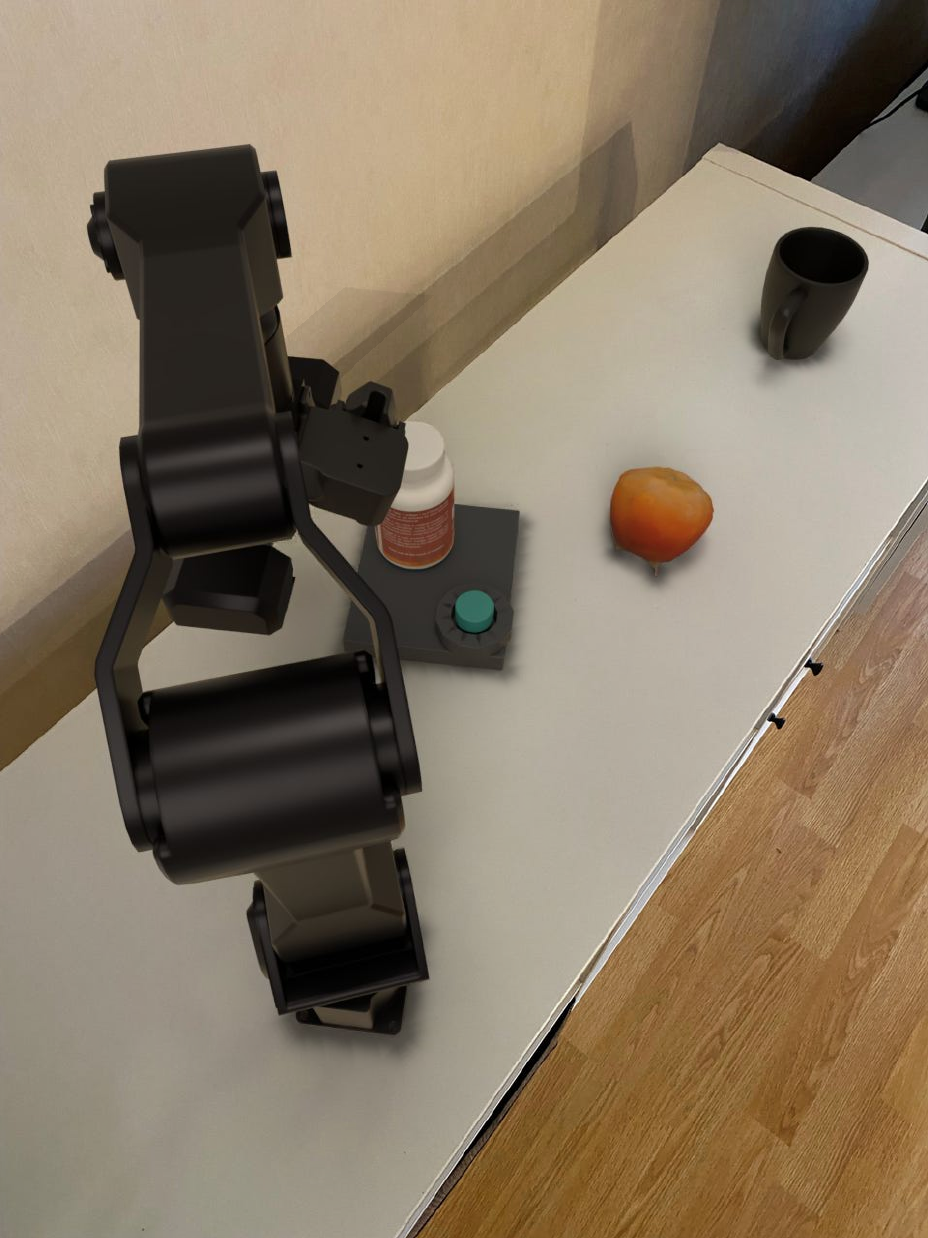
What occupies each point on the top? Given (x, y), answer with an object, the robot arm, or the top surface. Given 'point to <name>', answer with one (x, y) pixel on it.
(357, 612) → the scale
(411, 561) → the pill bottle
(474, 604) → the button
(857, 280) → the mug
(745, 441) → the top surface
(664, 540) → the fruit
